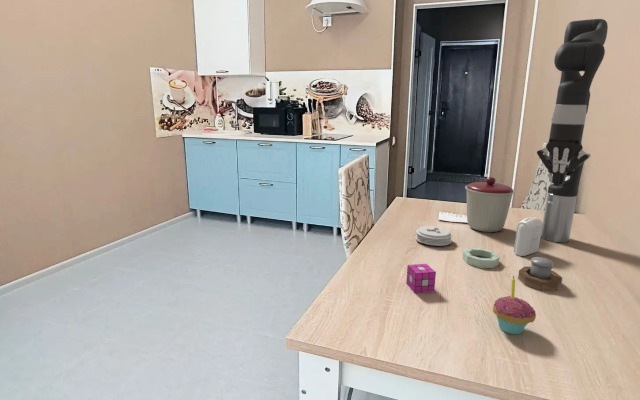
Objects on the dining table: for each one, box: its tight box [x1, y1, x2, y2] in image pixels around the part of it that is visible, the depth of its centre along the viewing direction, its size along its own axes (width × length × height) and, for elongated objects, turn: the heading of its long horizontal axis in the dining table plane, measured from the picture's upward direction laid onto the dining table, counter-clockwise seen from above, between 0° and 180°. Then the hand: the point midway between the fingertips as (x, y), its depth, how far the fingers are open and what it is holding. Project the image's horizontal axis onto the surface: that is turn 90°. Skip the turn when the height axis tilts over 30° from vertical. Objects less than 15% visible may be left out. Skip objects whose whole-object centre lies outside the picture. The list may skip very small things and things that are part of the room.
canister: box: [464, 176, 516, 233], centre depth 154 cm, size 18×18×21 cm
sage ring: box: [462, 247, 501, 269], centre depth 124 cm, size 10×10×2 cm
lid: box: [415, 225, 453, 247], centre depth 141 cm, size 13×13×5 cm
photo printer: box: [513, 216, 543, 257], centre depth 130 cm, size 10×4×12 cm, turn 123°
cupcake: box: [492, 275, 537, 335], centre depth 86 cm, size 9×8×12 cm
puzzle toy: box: [405, 263, 437, 294], centre depth 105 cm, size 6×6×6 cm
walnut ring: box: [517, 266, 563, 292], centre depth 110 cm, size 10×10×2 cm
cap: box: [530, 256, 554, 280], centre depth 109 cm, size 5×5×6 cm
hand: (557, 185), depth 108 cm, fingers closed
